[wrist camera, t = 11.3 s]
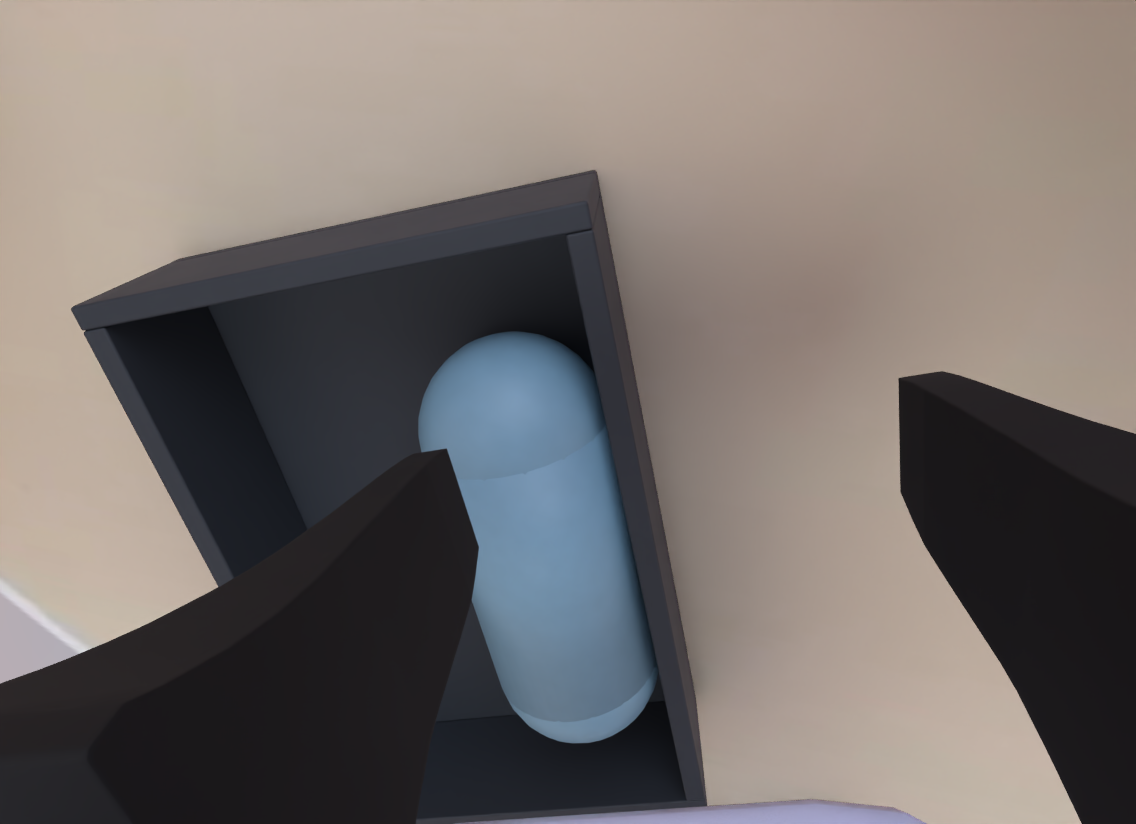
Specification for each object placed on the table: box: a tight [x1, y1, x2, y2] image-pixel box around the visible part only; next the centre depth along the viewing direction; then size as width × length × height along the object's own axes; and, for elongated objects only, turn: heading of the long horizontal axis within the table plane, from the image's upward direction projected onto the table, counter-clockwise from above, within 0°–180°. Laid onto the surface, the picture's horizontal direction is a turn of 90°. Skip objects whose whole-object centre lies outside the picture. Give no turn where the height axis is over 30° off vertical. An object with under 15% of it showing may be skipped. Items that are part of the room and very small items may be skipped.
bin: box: [71, 170, 707, 824], centre depth 21 cm, size 19×12×4 cm, turn 12°
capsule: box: [418, 331, 659, 743], centre depth 20 cm, size 13×5×5 cm
